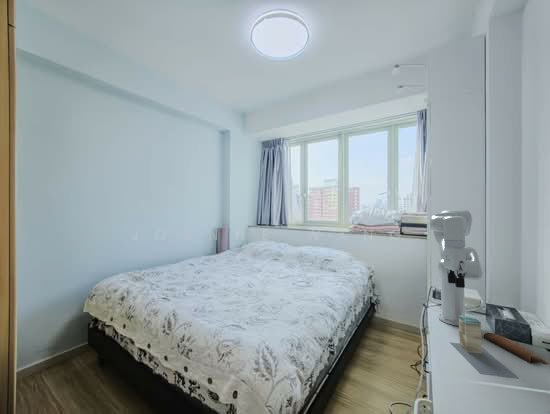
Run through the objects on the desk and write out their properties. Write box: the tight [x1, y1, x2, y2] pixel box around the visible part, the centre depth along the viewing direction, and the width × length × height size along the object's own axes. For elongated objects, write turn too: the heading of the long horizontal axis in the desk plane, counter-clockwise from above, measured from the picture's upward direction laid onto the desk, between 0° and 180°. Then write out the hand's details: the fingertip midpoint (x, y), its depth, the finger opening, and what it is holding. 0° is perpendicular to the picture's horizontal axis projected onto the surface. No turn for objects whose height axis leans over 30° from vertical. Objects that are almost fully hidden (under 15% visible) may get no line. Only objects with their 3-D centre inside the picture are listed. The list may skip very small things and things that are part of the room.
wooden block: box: [458, 315, 483, 354], centre depth 92 cm, size 5×5×12 cm
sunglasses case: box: [483, 332, 550, 365], centre depth 92 cm, size 18×7×7 cm
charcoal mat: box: [449, 341, 520, 380], centre depth 86 cm, size 20×11×1 cm, turn 167°
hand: (456, 284), depth 101 cm, fingers open, 5 cm apart
